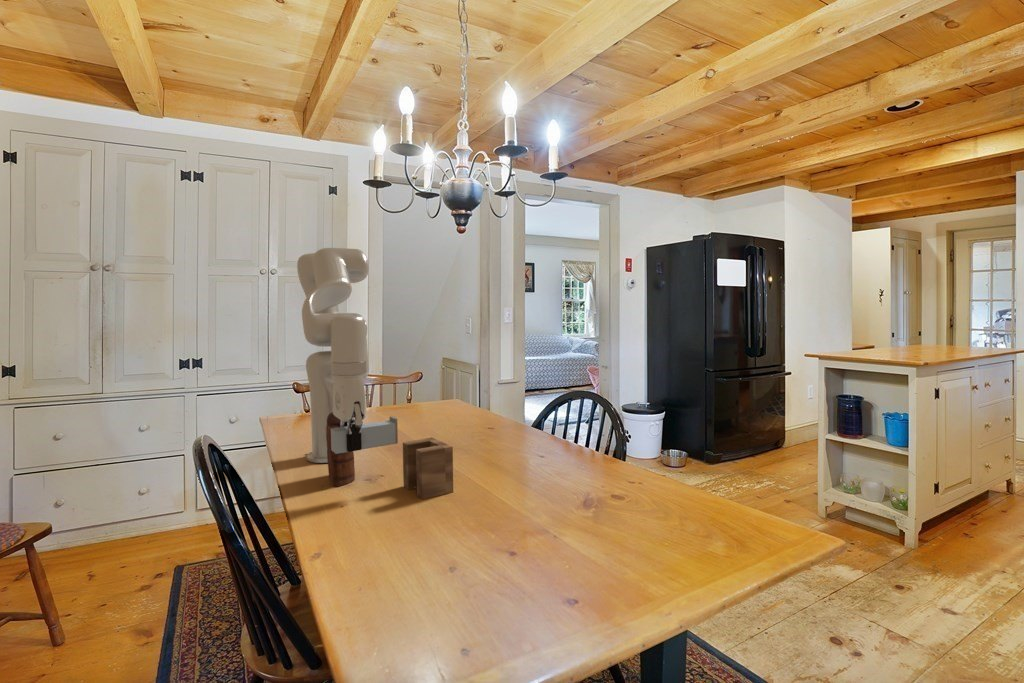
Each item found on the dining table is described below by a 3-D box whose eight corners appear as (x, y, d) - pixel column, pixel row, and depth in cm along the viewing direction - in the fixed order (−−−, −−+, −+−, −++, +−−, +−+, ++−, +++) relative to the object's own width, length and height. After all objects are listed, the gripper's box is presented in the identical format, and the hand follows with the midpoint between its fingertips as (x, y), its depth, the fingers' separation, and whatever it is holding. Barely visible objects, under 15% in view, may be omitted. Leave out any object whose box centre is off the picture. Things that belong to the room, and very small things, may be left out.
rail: (331, 449, 118) (330, 424, 117) (392, 440, 126) (391, 416, 125) (335, 453, 115) (335, 427, 114) (397, 443, 123) (397, 418, 122)
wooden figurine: (357, 484, 129) (355, 413, 128) (330, 488, 126) (328, 415, 125) (351, 471, 140) (349, 405, 139) (326, 474, 137) (324, 407, 136)
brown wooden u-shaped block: (403, 486, 127) (402, 442, 127) (433, 479, 132) (432, 437, 131) (422, 499, 118) (421, 452, 118) (453, 492, 123) (452, 446, 122)
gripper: (322, 366, 122) (324, 442, 123) (343, 375, 108) (345, 460, 109) (354, 364, 126) (356, 437, 127) (378, 372, 112) (379, 454, 114)
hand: (351, 447), depth 118 cm, fingers closed on rail, 3 cm apart
